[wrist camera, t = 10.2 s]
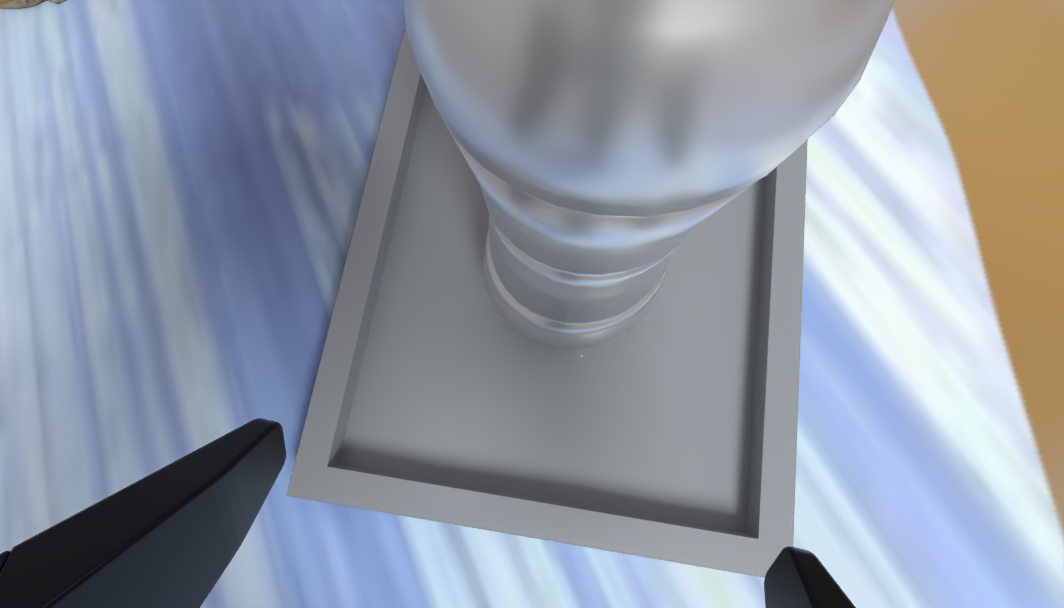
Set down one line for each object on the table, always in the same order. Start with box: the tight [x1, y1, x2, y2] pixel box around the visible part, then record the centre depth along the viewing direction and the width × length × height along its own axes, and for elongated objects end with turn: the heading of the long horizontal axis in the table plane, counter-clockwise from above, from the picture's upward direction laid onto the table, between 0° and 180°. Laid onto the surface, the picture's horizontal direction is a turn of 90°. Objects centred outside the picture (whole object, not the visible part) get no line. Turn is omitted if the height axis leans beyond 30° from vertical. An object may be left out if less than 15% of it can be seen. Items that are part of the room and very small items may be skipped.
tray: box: [286, 30, 807, 578], centre depth 21 cm, size 20×18×2 cm
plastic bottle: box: [404, 0, 895, 348], centre depth 12 cm, size 6×7×20 cm
